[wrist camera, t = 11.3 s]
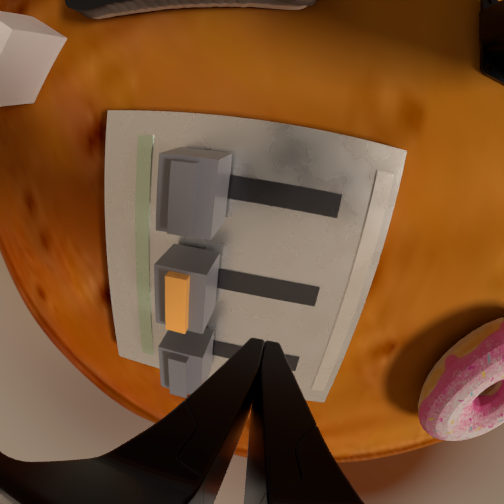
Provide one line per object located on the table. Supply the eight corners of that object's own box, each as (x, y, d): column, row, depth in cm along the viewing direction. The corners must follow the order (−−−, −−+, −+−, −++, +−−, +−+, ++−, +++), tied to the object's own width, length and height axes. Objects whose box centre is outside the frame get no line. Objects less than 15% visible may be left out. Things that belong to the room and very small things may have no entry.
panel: (399, 148, 17) (407, 151, 15) (323, 389, 25) (324, 403, 24) (119, 109, 18) (106, 110, 17) (126, 345, 27) (118, 356, 25)
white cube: (4, 75, 18) (-46, 78, 13) (33, 16, 16) (-17, 8, 10) (34, 103, 19) (-21, 109, 13) (68, 38, 17) (12, 29, 11)
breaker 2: (214, 330, 22) (200, 364, 19) (211, 369, 23) (198, 403, 20) (173, 320, 22) (154, 352, 19) (174, 360, 24) (158, 391, 20)
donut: (423, 428, 27) (431, 465, 22) (397, 352, 23) (410, 397, 18) (527, 375, 22) (544, 406, 18) (530, 281, 18) (560, 313, 14)
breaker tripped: (220, 252, 19) (203, 280, 16) (215, 306, 21) (199, 340, 18) (173, 243, 20) (149, 269, 16) (172, 297, 21) (151, 328, 18)
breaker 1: (232, 153, 17) (215, 161, 14) (224, 221, 18) (207, 244, 15) (181, 147, 17) (153, 154, 14) (176, 213, 19) (150, 234, 15)
